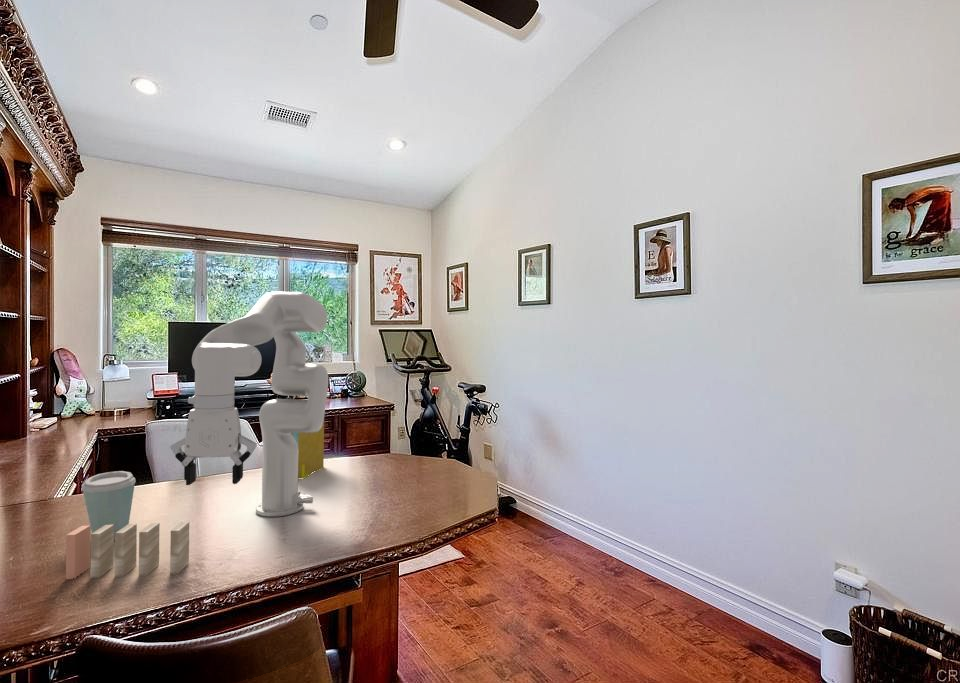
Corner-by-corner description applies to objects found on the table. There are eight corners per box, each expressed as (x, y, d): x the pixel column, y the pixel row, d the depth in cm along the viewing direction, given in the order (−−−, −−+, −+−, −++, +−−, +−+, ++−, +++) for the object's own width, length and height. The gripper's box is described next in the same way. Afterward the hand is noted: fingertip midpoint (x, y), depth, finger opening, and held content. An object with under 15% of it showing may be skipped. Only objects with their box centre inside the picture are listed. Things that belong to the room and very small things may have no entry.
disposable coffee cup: (134, 540, 119) (135, 478, 119) (77, 550, 113) (78, 485, 113) (136, 526, 128) (137, 468, 128) (83, 534, 122) (84, 474, 122)
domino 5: (188, 562, 108) (189, 521, 108) (178, 573, 103) (178, 530, 103) (180, 563, 108) (181, 521, 108) (170, 573, 103) (170, 530, 103)
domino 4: (159, 564, 107) (159, 522, 107) (147, 575, 102) (147, 531, 102) (151, 564, 107) (151, 523, 107) (138, 575, 102) (139, 532, 102)
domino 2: (113, 566, 106) (113, 524, 106) (99, 577, 101) (99, 533, 101) (105, 566, 106) (105, 524, 106) (90, 578, 101) (90, 534, 101)
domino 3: (136, 565, 107) (136, 523, 107) (123, 576, 102) (123, 532, 102) (128, 565, 106) (128, 524, 106) (114, 576, 101) (115, 533, 101)
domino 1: (90, 567, 105) (90, 525, 105) (74, 578, 100) (75, 534, 100) (81, 568, 105) (82, 525, 105) (65, 579, 100) (66, 535, 100)
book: (302, 479, 173) (303, 407, 172) (285, 477, 174) (286, 406, 174) (327, 466, 189) (328, 401, 189) (311, 465, 191) (312, 400, 190)
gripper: (162, 405, 101) (161, 489, 102) (251, 404, 104) (250, 487, 104) (179, 400, 109) (178, 478, 109) (262, 400, 111) (261, 476, 111)
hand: (213, 482), depth 106 cm, fingers open, 8 cm apart
